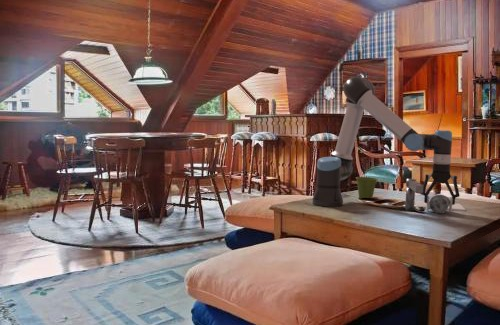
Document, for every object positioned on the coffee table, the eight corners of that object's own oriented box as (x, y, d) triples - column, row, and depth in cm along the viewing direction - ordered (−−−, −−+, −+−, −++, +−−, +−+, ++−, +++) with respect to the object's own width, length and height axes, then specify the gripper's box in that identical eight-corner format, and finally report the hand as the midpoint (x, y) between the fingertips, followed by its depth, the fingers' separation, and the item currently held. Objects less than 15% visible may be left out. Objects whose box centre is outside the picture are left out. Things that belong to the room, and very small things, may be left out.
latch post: (405, 210, 214) (406, 187, 213) (404, 208, 218) (406, 186, 217) (414, 211, 213) (415, 188, 212) (413, 209, 217) (414, 187, 216)
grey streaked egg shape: (451, 208, 202) (442, 188, 206) (430, 216, 206) (422, 196, 210) (456, 211, 214) (447, 192, 217) (436, 218, 218) (428, 199, 221)
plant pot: (379, 200, 242) (380, 179, 241) (357, 199, 242) (358, 179, 241) (373, 196, 254) (374, 177, 253) (352, 196, 254) (353, 176, 253)
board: (416, 207, 222) (417, 206, 222) (414, 202, 239) (414, 200, 239) (465, 211, 216) (465, 209, 216) (459, 205, 233) (459, 203, 233)
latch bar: (405, 185, 217) (405, 178, 217) (414, 186, 216) (415, 179, 216) (413, 193, 194) (414, 185, 193) (424, 193, 193) (425, 185, 192)
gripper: (417, 162, 210) (414, 210, 211) (469, 165, 204) (465, 214, 206) (415, 161, 217) (413, 207, 219) (465, 163, 211) (462, 211, 213)
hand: (438, 210), depth 212 cm, fingers closed on grey streaked egg shape, 9 cm apart
